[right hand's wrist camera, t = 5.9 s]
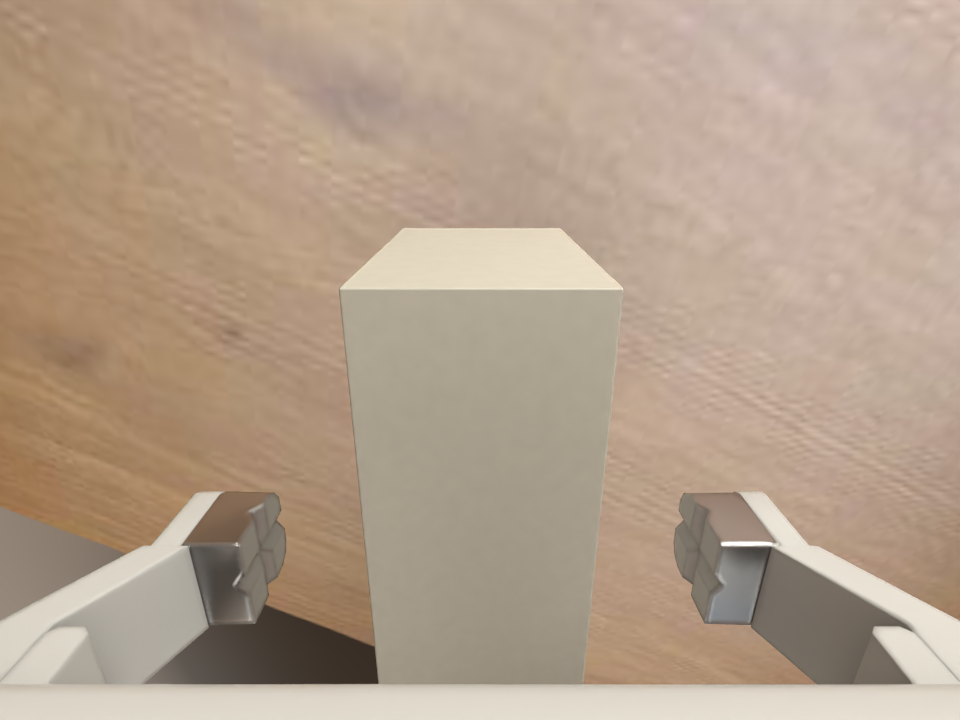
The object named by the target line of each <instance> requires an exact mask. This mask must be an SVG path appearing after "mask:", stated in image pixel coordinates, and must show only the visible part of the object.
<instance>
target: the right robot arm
mask: <svg viewBox="0 0 960 720" xmlns="http://www.w3.org/2000/svg"><path fill="white" fill-rule="evenodd" d="M280 512H281V506H280V501H279V496H278V495H276V494H275V493H271V492H222V491H202V492H199V493H196V494H194V495H193V497H192V498H191V499H190V500H189V501H188V502H187V504H186V505H185V506H184V507H183V508H182V510H181V511H180V512H179V513H178V514H177V515H176V517H175V518H174V519H173V520H172V521H171V523H170V524H169V525H168V526H167V527H166V528H165V530H164V531H163V532H162V533H161V534H160V536H159V537H158V538H157V539H156V540H155V542H154V543H153V544H152V545H151V546H141V547H140V548H138V549H136V550H134V551H132V552H130V553H128V554H126V555H124V556H122V557H121V558H119V559H117V560H115V561H113V562H111V563H109V564H107V565H105V566H103V567H101V568H100V569H98V570H96V571H94V572H92V573H90V574H88V575H86V576H84V577H82V578H81V579H79V580H77V581H75V582H73V583H71V584H69V585H67V586H65V587H63V588H61V589H60V590H58V591H56V592H54V593H52V594H50V595H48V596H46V597H44V598H42V599H41V600H39V601H37V602H35V603H33V604H31V605H29V606H27V607H25V608H23V609H21V610H20V611H18V612H16V613H14V614H12V615H10V616H8V617H6V618H4V619H2V620H1V621H0V720H960V621H959V620H957V619H955V618H953V617H951V616H950V615H948V614H946V613H944V612H942V611H940V610H938V609H936V608H934V607H932V606H931V605H929V604H927V603H925V602H923V601H921V600H919V599H917V598H915V597H913V596H912V595H910V594H908V593H906V592H904V591H902V590H900V589H898V588H896V587H895V586H893V585H891V584H889V583H887V582H885V581H883V580H881V579H879V578H877V577H876V576H874V575H872V574H870V573H868V572H866V571H864V570H862V569H860V568H858V567H857V566H855V565H853V564H851V563H849V562H847V561H845V560H843V559H841V558H839V557H838V556H836V555H834V554H832V553H830V552H828V551H826V550H824V549H822V548H820V547H819V546H809V545H808V544H807V543H806V542H805V540H804V539H803V538H802V537H801V536H800V534H799V533H798V532H797V531H796V530H795V529H794V527H793V526H792V525H791V524H790V523H789V521H788V520H787V519H786V518H785V517H784V516H783V514H782V513H781V512H780V511H779V510H778V508H777V507H776V506H775V505H774V504H773V503H772V501H771V500H770V499H769V498H768V497H767V495H766V494H764V493H762V492H760V491H747V492H734V493H684V494H683V496H682V498H681V500H680V505H679V512H680V514H681V516H682V517H683V519H684V520H683V521H682V522H681V523H680V524H679V525H678V526H677V527H676V528H675V535H674V553H675V559H676V562H677V566H678V569H679V571H680V573H681V575H682V577H683V578H684V579H686V580H687V581H689V582H690V583H691V584H693V586H692V592H691V596H692V598H693V600H694V602H695V604H696V606H697V609H698V611H699V613H700V615H701V617H702V619H703V621H704V623H705V624H736V625H751V628H753V629H754V630H755V631H756V632H757V633H758V634H760V635H761V636H762V637H763V638H764V639H765V640H766V641H768V642H769V643H770V644H771V645H772V646H773V647H775V648H776V649H777V650H778V651H779V652H780V653H782V654H783V655H784V656H785V657H786V658H787V659H788V660H790V661H791V662H792V663H793V664H794V665H795V666H797V667H798V668H799V669H800V670H801V671H802V672H803V673H805V674H806V675H807V676H808V677H809V678H810V679H812V680H813V681H814V682H815V683H816V684H144V683H145V682H146V681H147V680H149V679H150V678H151V677H152V676H153V675H154V674H156V673H157V672H158V671H159V670H160V669H161V668H162V667H164V666H165V665H166V664H167V663H168V662H169V661H171V660H172V659H173V658H174V657H175V656H176V655H178V654H179V653H180V652H181V651H182V650H183V649H184V648H186V647H187V646H188V645H189V644H190V643H191V642H193V641H194V640H195V639H196V638H197V637H198V636H199V635H201V634H202V633H203V632H204V631H205V630H206V629H208V628H209V625H223V624H255V623H256V621H257V619H258V617H259V615H260V613H261V611H262V609H263V606H264V604H265V602H266V600H267V598H268V596H269V592H268V586H267V584H269V583H270V582H271V581H273V580H274V579H276V578H277V577H278V575H279V573H280V571H281V568H282V566H283V563H284V558H285V553H286V534H285V528H284V527H283V526H282V525H281V524H280V523H279V522H278V521H277V520H276V519H277V517H278V516H279V514H280Z"/></svg>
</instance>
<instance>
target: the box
mask: <svg viewBox="0 0 960 720" xmlns="http://www.w3.org/2000/svg"><path fill="white" fill-rule="evenodd" d="M339 294H340V304H341V314H342V324H343V334H344V344H345V354H346V364H347V374H348V384H349V394H350V404H351V414H352V424H353V434H354V444H355V453H356V463H357V473H358V483H359V493H360V503H361V513H362V523H363V533H364V543H365V553H366V563H367V573H368V583H369V593H370V603H371V613H372V623H373V633H374V643H375V653H376V662H377V672H378V682H379V684H583V680H584V670H585V660H586V650H587V641H588V631H589V621H590V612H591V602H592V592H593V582H594V573H595V563H596V553H597V543H598V534H599V524H600V514H601V504H602V495H603V485H604V475H605V465H606V456H607V446H608V436H609V427H610V417H611V407H612V397H613V388H614V378H615V368H616V358H617V349H618V339H619V329H620V319H621V310H622V300H623V288H622V287H621V286H620V285H619V284H618V283H617V282H616V281H615V280H614V279H613V278H612V277H611V276H610V275H609V274H607V273H606V272H605V271H604V270H603V269H602V268H601V267H600V266H599V265H598V264H597V263H596V262H595V261H594V260H593V259H592V258H591V257H590V256H589V255H588V254H586V253H585V252H584V251H583V250H582V249H581V248H580V247H579V246H578V245H577V244H576V243H575V242H574V241H573V240H572V239H571V238H570V237H569V236H568V235H567V234H565V233H564V232H563V231H562V230H561V229H560V228H403V229H402V230H401V231H400V232H399V233H398V234H397V235H396V236H394V237H393V238H392V239H391V240H390V241H389V242H388V243H387V244H386V245H385V246H384V247H383V248H382V249H381V250H380V251H378V252H377V253H376V254H375V255H374V256H373V257H372V258H371V259H370V260H369V261H368V262H367V263H366V264H365V265H364V266H362V267H361V268H360V269H359V270H358V271H357V272H356V273H355V274H354V275H353V276H352V277H351V278H350V279H349V280H348V281H346V282H345V283H344V284H343V285H342V286H341V287H340V288H339Z"/></svg>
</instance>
